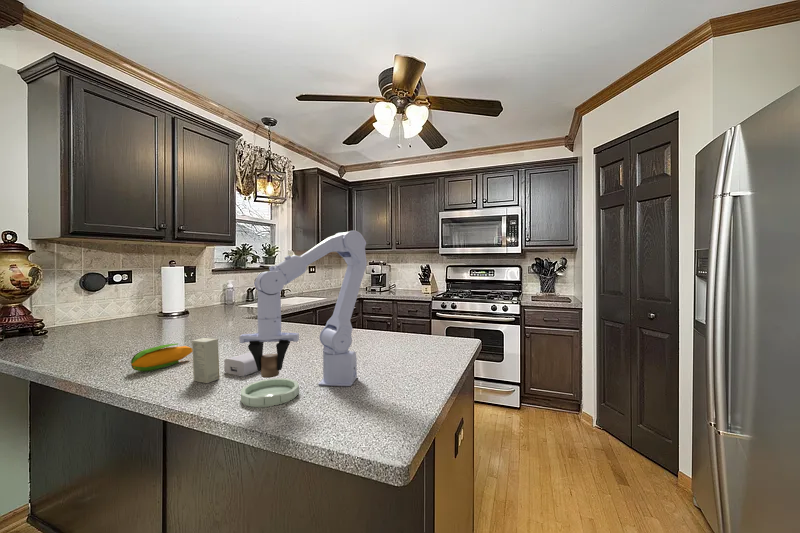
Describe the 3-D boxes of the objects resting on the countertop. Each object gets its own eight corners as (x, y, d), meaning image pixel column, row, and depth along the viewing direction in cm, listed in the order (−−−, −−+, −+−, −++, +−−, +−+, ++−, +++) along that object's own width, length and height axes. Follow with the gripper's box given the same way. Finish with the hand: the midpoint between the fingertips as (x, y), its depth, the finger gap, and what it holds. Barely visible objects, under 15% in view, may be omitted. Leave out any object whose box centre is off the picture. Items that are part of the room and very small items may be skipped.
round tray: (306, 386, 96) (306, 379, 96) (284, 408, 83) (284, 399, 83) (258, 385, 98) (258, 377, 98) (229, 406, 84) (229, 397, 84)
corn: (124, 349, 109) (185, 336, 127) (123, 373, 109) (184, 357, 128) (138, 353, 106) (199, 339, 124) (138, 378, 106) (198, 360, 125)
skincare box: (220, 379, 103) (219, 338, 103) (206, 384, 99) (205, 342, 99) (205, 376, 106) (205, 336, 106) (191, 381, 102) (191, 340, 102)
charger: (281, 364, 119) (244, 377, 106) (262, 360, 123) (224, 373, 110) (281, 350, 119) (243, 361, 105) (262, 347, 123) (224, 358, 110)
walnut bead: (280, 371, 93) (280, 353, 93) (276, 377, 88) (276, 357, 88) (263, 372, 92) (263, 353, 92) (258, 378, 88) (258, 358, 88)
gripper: (301, 314, 94) (301, 364, 95) (246, 315, 93) (246, 365, 93) (295, 318, 87) (295, 372, 88) (236, 320, 86) (236, 374, 86)
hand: (270, 369), depth 90 cm, fingers closed on walnut bead, 4 cm apart
